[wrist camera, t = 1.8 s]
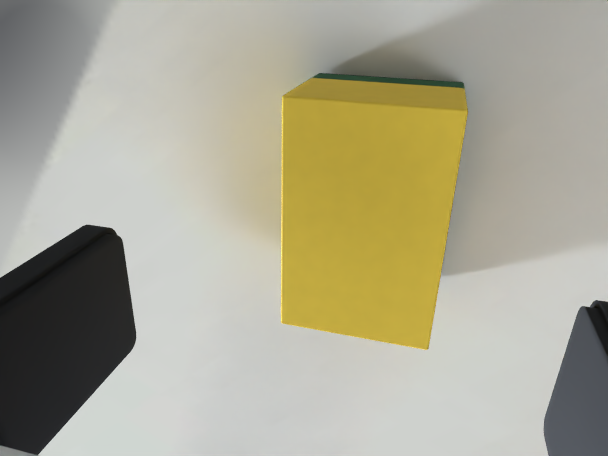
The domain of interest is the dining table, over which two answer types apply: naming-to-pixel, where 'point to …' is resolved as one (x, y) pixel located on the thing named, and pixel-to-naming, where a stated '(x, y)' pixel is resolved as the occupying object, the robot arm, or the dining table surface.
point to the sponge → (368, 203)
